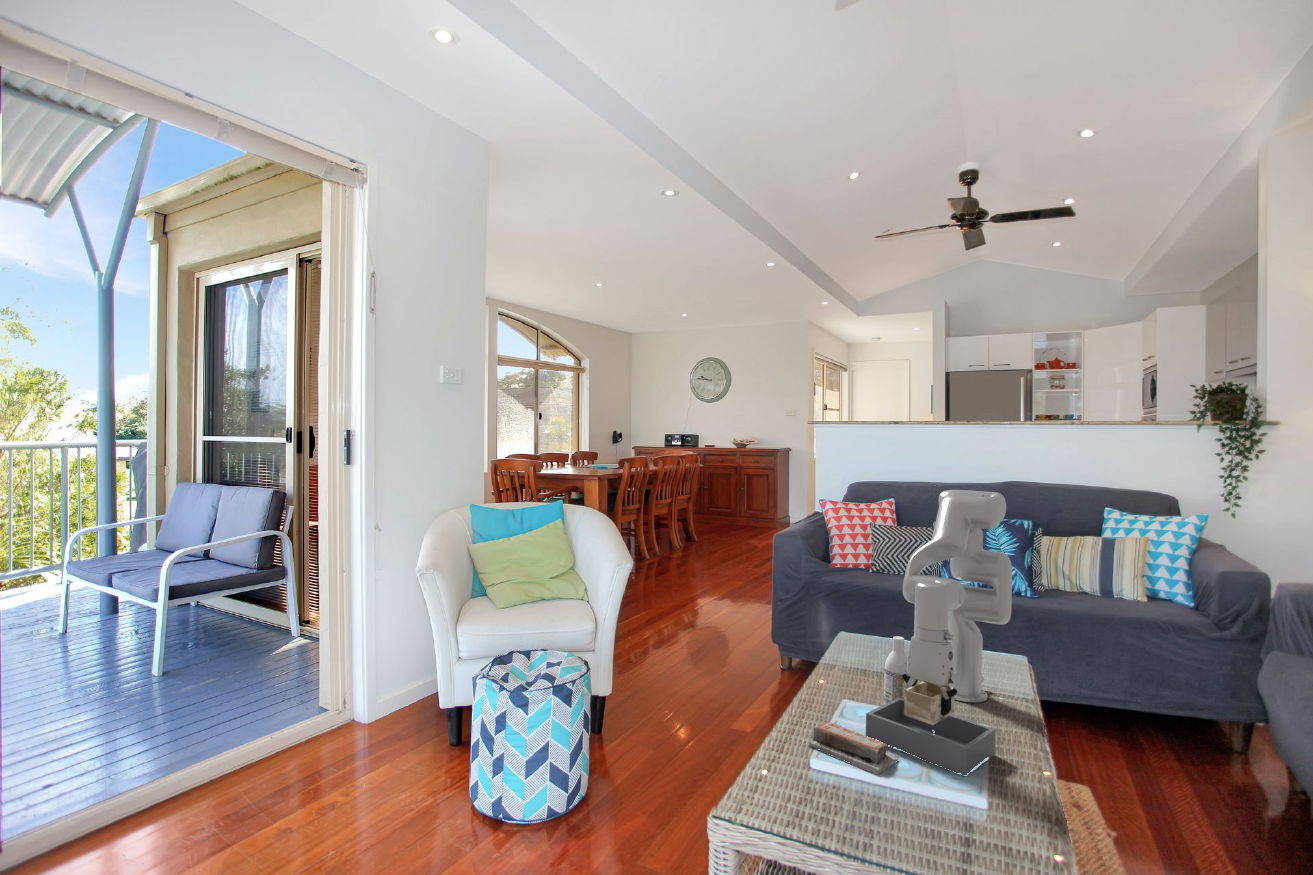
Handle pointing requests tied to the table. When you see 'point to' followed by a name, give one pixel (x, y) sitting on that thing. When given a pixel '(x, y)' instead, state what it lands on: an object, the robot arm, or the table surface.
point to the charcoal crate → (932, 737)
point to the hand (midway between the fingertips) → (929, 708)
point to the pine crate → (925, 703)
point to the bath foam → (894, 672)
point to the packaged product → (852, 747)
